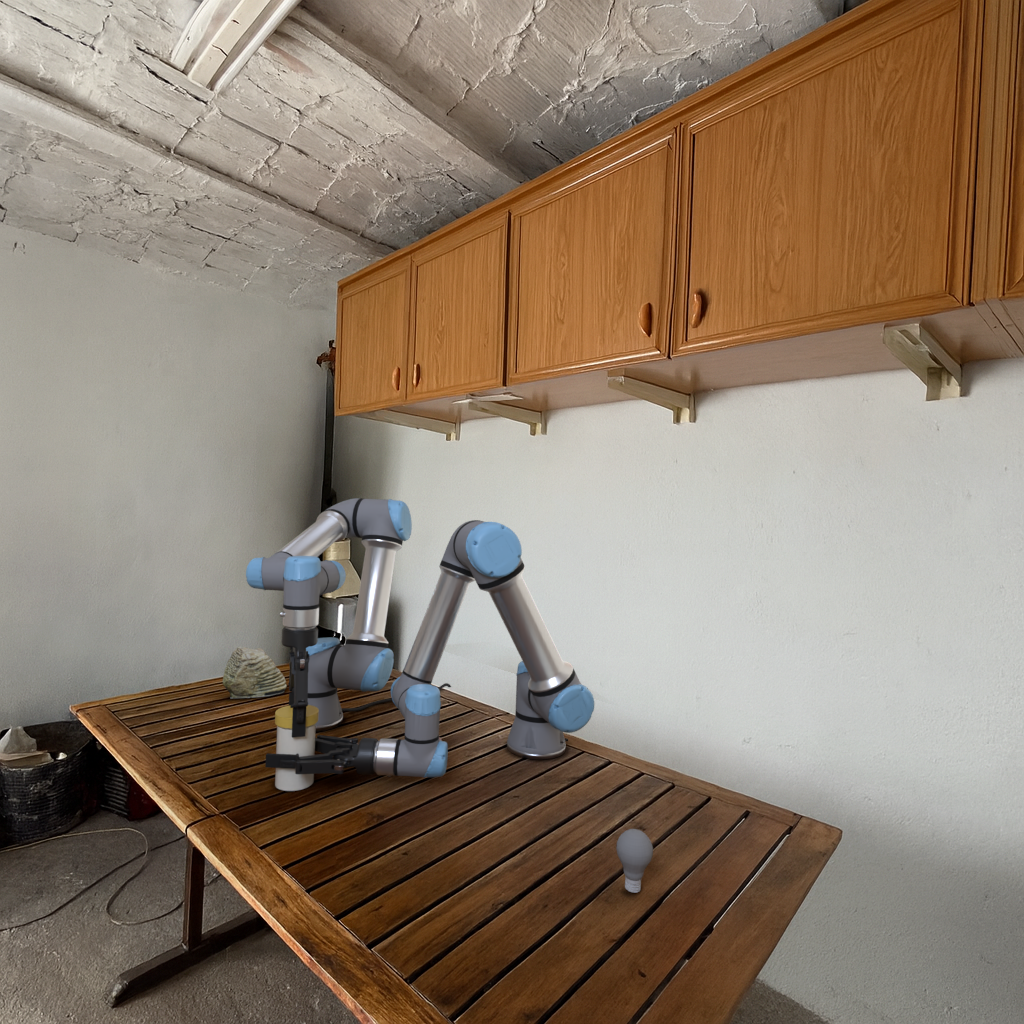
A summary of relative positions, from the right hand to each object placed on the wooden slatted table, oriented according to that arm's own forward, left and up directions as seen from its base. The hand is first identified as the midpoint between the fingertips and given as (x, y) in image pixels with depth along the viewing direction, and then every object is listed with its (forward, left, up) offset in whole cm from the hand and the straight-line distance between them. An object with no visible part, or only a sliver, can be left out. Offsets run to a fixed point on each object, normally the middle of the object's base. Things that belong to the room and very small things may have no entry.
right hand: (274, 752), depth 140 cm
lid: (-4, +2, +9) cm, 10 cm away
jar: (-4, +2, -7) cm, 8 cm away
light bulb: (-52, +62, -7) cm, 81 cm away
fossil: (+1, -65, -7) cm, 65 cm away
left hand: (-4, +2, +5) cm, 7 cm away
